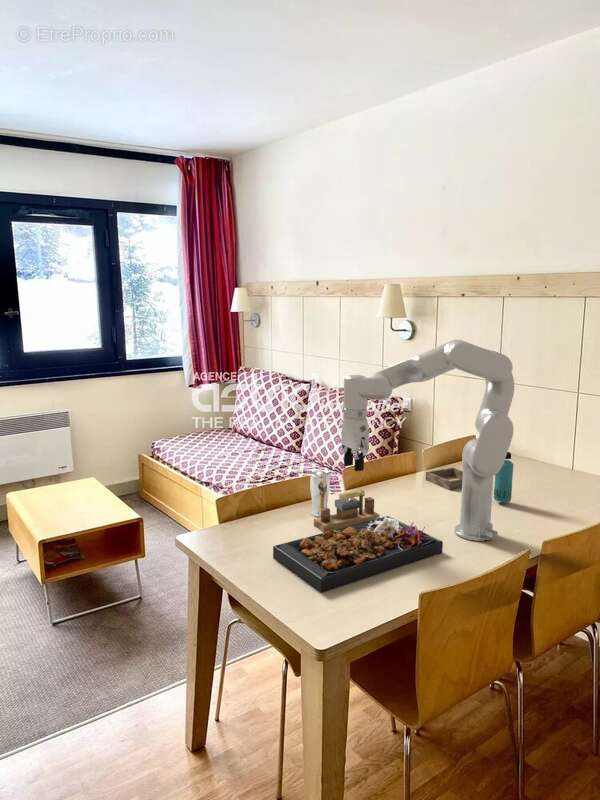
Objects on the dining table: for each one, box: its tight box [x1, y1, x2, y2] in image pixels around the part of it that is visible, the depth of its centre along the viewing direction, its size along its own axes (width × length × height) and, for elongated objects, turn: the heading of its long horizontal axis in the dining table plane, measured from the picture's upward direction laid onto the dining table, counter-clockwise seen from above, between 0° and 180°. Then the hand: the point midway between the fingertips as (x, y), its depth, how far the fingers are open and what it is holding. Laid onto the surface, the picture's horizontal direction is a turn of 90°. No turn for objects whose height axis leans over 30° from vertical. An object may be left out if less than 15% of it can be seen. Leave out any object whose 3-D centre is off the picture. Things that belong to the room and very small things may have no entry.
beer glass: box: [309, 470, 331, 518], centre depth 206 cm, size 7×7×15 cm
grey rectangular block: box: [334, 497, 360, 511], centre depth 198 cm, size 5×7×3 cm
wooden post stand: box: [313, 496, 381, 533], centre depth 198 cm, size 7×22×9 cm, turn 117°
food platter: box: [272, 515, 444, 594], centre depth 174 cm, size 45×25×10 cm, turn 123°
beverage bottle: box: [493, 451, 515, 503], centre depth 218 cm, size 6×7×20 cm
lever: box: [338, 489, 366, 499], centre depth 198 cm, size 2×10×2 cm, turn 117°
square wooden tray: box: [425, 467, 463, 491], centre depth 244 cm, size 15×15×4 cm
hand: (353, 467), depth 190 cm, fingers open, 5 cm apart
